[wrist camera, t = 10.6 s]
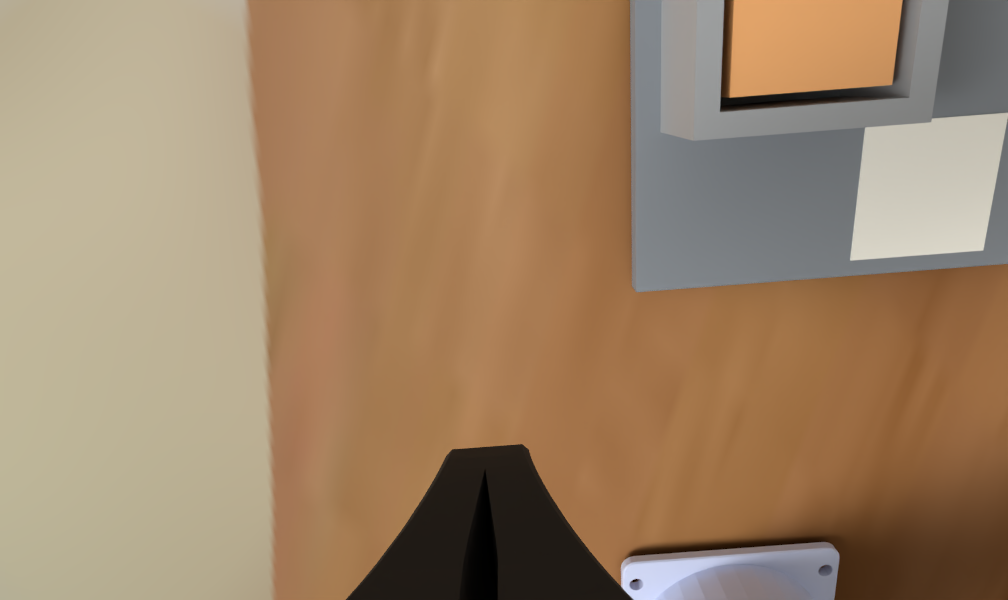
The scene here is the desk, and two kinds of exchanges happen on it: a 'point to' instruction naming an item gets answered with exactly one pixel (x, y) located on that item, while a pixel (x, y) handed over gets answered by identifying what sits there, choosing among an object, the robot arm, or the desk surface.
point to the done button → (807, 45)
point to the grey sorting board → (817, 155)
